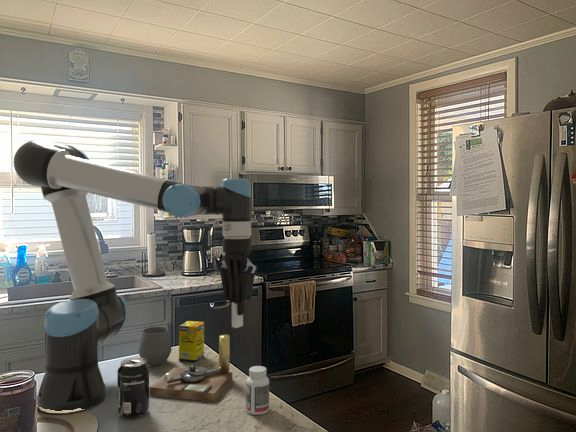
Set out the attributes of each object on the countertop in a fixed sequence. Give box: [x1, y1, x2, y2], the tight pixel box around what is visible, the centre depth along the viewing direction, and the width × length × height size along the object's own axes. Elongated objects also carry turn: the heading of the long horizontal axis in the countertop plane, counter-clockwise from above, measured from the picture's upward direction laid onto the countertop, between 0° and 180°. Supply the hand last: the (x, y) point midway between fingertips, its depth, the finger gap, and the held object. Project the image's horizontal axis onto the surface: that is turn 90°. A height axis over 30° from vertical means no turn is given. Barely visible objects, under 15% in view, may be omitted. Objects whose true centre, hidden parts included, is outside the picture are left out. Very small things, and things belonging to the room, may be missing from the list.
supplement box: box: [178, 320, 205, 363], centre depth 141 cm, size 6×6×11 cm
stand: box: [149, 366, 233, 403], centre depth 120 cm, size 17×14×2 cm
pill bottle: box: [245, 365, 270, 416], centre depth 107 cm, size 5×5×10 cm
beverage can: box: [117, 357, 150, 420], centre depth 104 cm, size 7×7×12 cm
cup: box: [138, 326, 172, 367], centre depth 137 cm, size 10×9×10 cm
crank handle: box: [163, 334, 231, 384], centre depth 120 cm, size 18×6×10 cm, turn 123°
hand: (237, 326), depth 121 cm, fingers closed
